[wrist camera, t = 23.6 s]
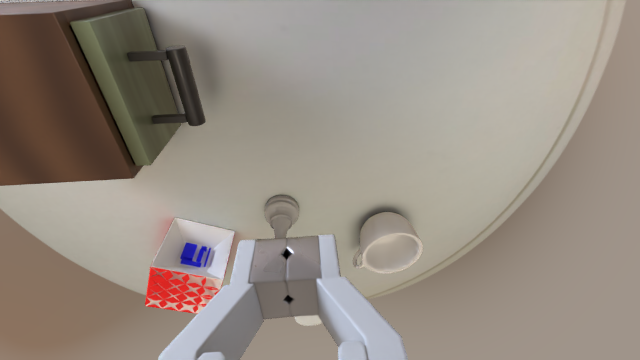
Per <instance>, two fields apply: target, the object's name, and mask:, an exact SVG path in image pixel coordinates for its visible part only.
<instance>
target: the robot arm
mask: <svg viewBox="0 0 640 360" xmlns="http://www.w3.org/2000/svg"><path fill="white" fill-rule="evenodd" d="M314 315H318V316H319V318H320V320H321V321H322V323H323V324H324V326H325V327H326V329H327V330H328V332H329V333H330V335H331V336H332V338H333V339H334V341H335V343H336V344H337V346H338V347H339V348H338V360H408V358H407V354H406V351H405V348H404V344H403V340H402V337H401V335H400V334H399V333H398V332H397V331H396V330H395V329H394V328H393V327H392V326H391V325H390V324H389V323H388V322H387V321H386V319H385V318H384V317H383V316H382V315H381V314H380V313H379V312H378V311H377V310H376V309H375V308H374V307H373V306H372V305H371V304H370V302H369V301H368V300H367V299H366V298H365V297H364V296H363V295H362V294H361V293H360V292H359V291H358V289H357V288H356V287H355V286H354V285H353V284H352V283H351V282H350V281H349V280H348V279H347V278H346V277H341V275H340V268H339V261H338V254H337V247H336V240H335V236H334V234H332V235H319V236H318V235H317V236H304V237H290V238H276V239H257V240H241V241H240V242H239V244H238V248H237V253H236V258H235V262H234V267H233V271H232V276H231V281H230V285H224V286H223V288H222V289H221V290H220V291H219V292H218V293H217V294H216V295H215V296H214V297H213V298H212V299H211V300H210V301H209V303H208V304H207V305H206V306H205V307H204V308H203V309H202V310H201V311H200V312H199V313H198V314H197V315H196V317H195V318H194V319H193V320H192V321H191V322H190V323H189V324H188V325H187V326H186V327H185V328H184V329H183V330H182V331H181V332H180V334H179V335H178V336H177V337H176V338H175V339H174V340H173V341H172V342H171V343H170V344H169V345H168V346H167V347H166V349H165V350H164V351H163V352H162V353H161V354H160V356H159V358H158V360H240V358H241V357H242V355H243V353H244V352H245V350H246V349H247V347H248V346H249V344H250V342H251V341H252V339H253V337H254V336H255V334H256V333H257V331H258V330H259V328H260V326H261V325H262V323H263V322H264V320H263V319H272V318H282V317H293V316H314Z"/></svg>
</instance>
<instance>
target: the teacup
mask: <svg viewBox="0 0 640 360" xmlns="http://www.w3.org/2000/svg"><path fill="white" fill-rule="evenodd" d="M422 251H423V245H422V242H421V240H420V238H419V237H418V235H417V233H416V231H415V230H414V228H413V226H412V225H411V224H410V223H409V221H408V220H407V219H405V218H404V217H403V216H401V215H399V214H396V213H392V212H383V213H379V214H376V215H374V216H372V217H370V218H369V219H368V220H367V221H366V222H365V223H364V225H363V227H362V229H361V232H360V248H359V250H358V251H357V253H356V254H355V256H354V257H353V265H354V267H356V268H357V269H361V268H363V267H366V268H368V269H369V270H371V271H373V272H376V273H394V272H398V271H401V270H404V269H406V268H408V267H409V266H411V265H412V264H414V263H415V262H416V261H417V260H418V259H419V257H420V256H421V254H422ZM360 254H361V256H362V262H361V263H360V265H357V263H356V261H357V258H358V256H359V255H360Z"/></svg>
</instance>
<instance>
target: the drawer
mask: <svg viewBox="0 0 640 360" xmlns="http://www.w3.org/2000/svg"><path fill="white" fill-rule="evenodd" d="M70 24H71V25H70V26H69V27H70V29H71V31H72V33H73V36H74V38H75V40H76V42H77V44H78V46H79V48H80V51H83V52H84V54H85V57H86V59H87V61H88V63H89V65H90V67H91V70H92V72H93V74H94V76H95V78H96V80H97V83H98V85H99V87H100V89H101V91H102V93H103V95H104V98H105V100H106V102H107V104H108V106H109V108H110V111H111V113H112V115H113V117H114V119H113V121H114V123H115V125H116V128H117V130H118V132H119V134H120V136H121V138H122V140H123V142H124V145H125V147H126V148H127V147H128V149H129V152H130V154H131V156H132V158H133V160H134V162H135V164H136V166H144V165H151V164H152V163H153V162H154V160H155V159H156V158H157V156H158V155H159V154H160V152H161V151H162V150H163V148H164V147H165V146H166V144H167V143H168V142H169V140H170V139H171V138H172V136H173V135H174V134H175V132H176V131H177V130H178V128H179V127H180V126H181V123H184V122H188V124H189V125H190V126H199V125H202V124H204V123H205V122H206V120H205V116H204V113H203V109H202V105H201V102H200V98H199V94H198V90H197V87H196V83H195V79H194V76H193V72H192V68H191V65H190V61H189V57H188V54H187V50H186V47H185V46H171V47H168V48H166V50H157V48H156V45H155V42H154V39H153V35H152V32H151V29H150V26H149V23H148V20H147V17H146V14H145V11H144V8H128V9H124V10H120V11H115V12H111V13H106V14H102V15H98V16H93V17H89V18H84V19H80V20H75V21H71V22H70ZM168 59H169V62H170V66H171V69H172V72H173V75H174V79H175V82H176V85H177V88H178V91H179V95H180V98H181V101H182V104H183V108H184V111H185V114H178V112H177V109H176V106H175V103H174V100H173V97H172V94H171V91H170V88H169V85H168V82H167V79H166V75H165V72H164V69H163V66H162V63H161V60H168Z"/></svg>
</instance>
